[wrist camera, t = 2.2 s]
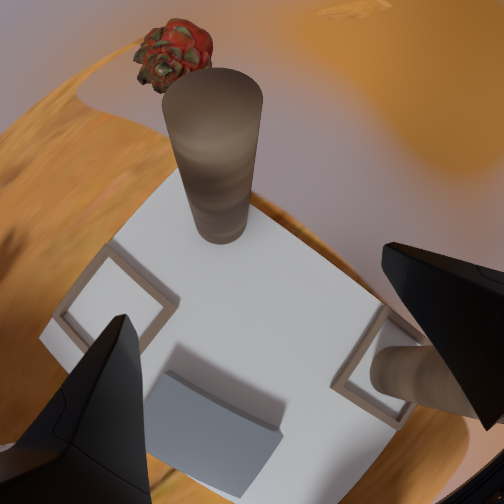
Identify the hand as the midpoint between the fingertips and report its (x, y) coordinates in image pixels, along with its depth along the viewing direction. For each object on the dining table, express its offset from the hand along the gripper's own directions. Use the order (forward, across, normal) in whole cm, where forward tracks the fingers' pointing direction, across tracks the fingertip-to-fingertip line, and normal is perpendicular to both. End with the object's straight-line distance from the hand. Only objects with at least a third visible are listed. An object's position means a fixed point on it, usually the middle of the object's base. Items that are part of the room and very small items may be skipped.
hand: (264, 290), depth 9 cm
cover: (+3, +5, +14) cm, 15 cm away
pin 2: (+3, -10, +14) cm, 17 cm away
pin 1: (+14, 0, +3) cm, 14 cm away
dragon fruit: (+29, +1, -9) cm, 30 cm away
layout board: (+7, +1, +12) cm, 14 cm away
